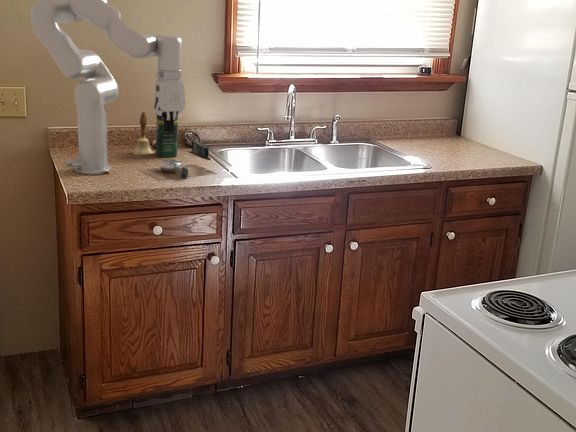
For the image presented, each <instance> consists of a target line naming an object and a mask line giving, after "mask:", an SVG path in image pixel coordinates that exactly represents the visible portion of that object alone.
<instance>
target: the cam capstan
mask: <svg viewBox="0 0 576 432" xmlns="http://www.w3.org/2000/svg"><path fill="white" fill-rule="evenodd" d="M181 165H182V161H181V160H178V159H173V158H169V159H168V158H167V159H162V160H160V168H161V171H164V172H175V173H177V174H179V175H181V177H187V178H189V177H188V168H187V167H182V166H181Z"/></svg>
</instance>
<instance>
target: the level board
mask: <svg viewBox="0 0 576 432" xmlns="http://www.w3.org/2000/svg"><path fill="white" fill-rule="evenodd" d="M181 166H182V167H187V168H188V177H181V175H179V174H177V173H175V172H164V171H161V167H153V168H145V169H138V171H139V172H141V173H143V174H146V175H147V176H149V177H151V178H152V179H155V180H157V181H158V182H161V181H170V180H177V179H186V178H187V179H188V178H195V177H203V176H212V175H219V173H217V172H215V171H212V170H211V169H209V168H206V167H204V166H202V165H201V164H198V163H191V164H181Z"/></svg>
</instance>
